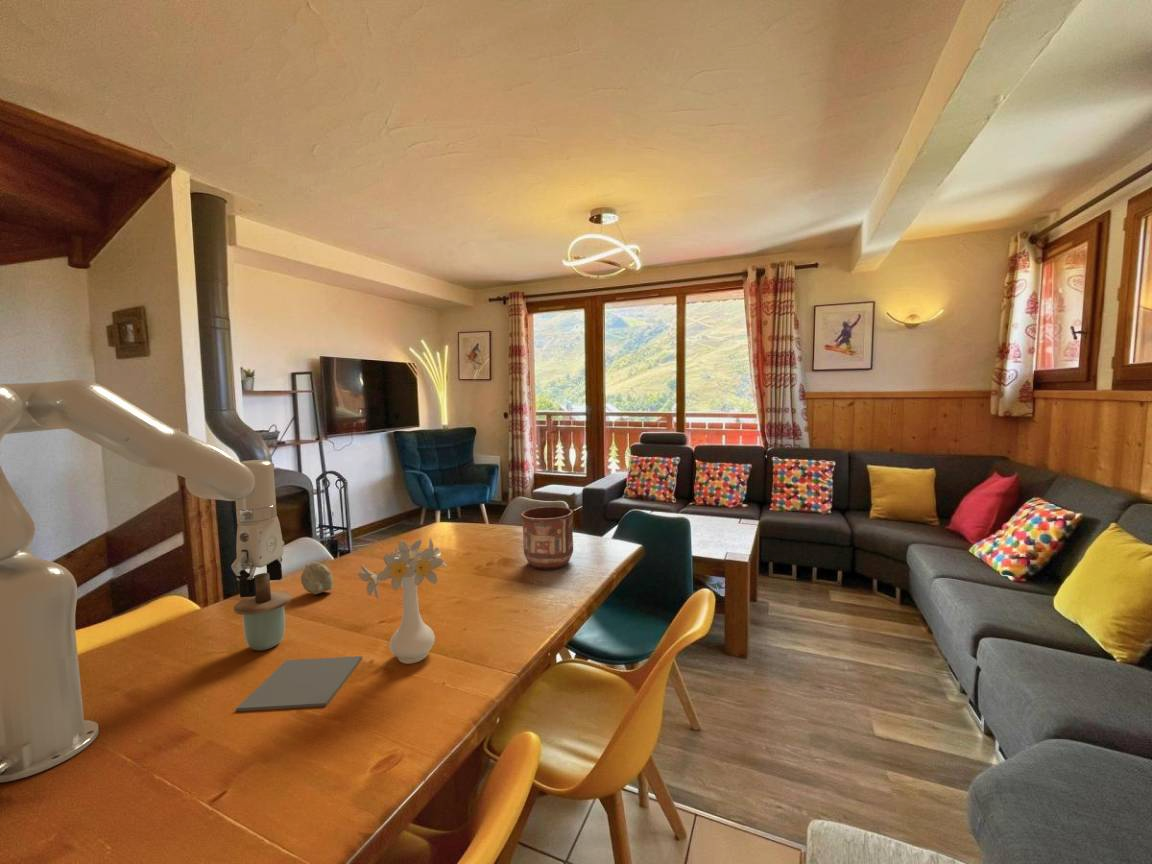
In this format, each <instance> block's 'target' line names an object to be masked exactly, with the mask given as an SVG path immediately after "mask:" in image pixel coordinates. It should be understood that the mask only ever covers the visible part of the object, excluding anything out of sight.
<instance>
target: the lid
mask: <svg viewBox="0 0 1152 864" xmlns="http://www.w3.org/2000/svg"><path fill="white" fill-rule="evenodd" d="M253 578H255V580H256V596H254V597H245V598H244V599H242V600H240V601H238V602H236V603H235V604H234V605H233V611H234V613H235V614H237V615H241V616H243V615H252V614H259V613H264V612H268V611H271V610H274V609H277V608H280V607H282V606H284V607H285V606H286V605H287V604H289V603H290V602H291V600H292V593H290V592H289V591H285V590H284V591H283V590H281V591H280V590H277V591H274V590H273V591H271V580H270V576H269V573H267V572H262V573H257V574H254V576H253Z"/></svg>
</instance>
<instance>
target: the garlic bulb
mask: <svg viewBox="0 0 1152 864" xmlns="http://www.w3.org/2000/svg"><path fill="white" fill-rule="evenodd" d="M300 583H301V585H302V586H303V587H302V588H303V589H304V590H305V591H306V592H308V593H311V594H313V595H317V594H322V593H323V592H326V591H330V590H333V589H334V588H335V587H334V586H333V584H334V578H333V572H332V571H331V569H330V568H329V567H328V566H326V565H324V564H322V563H321V562H315V561H312V562H311V563H308V564H305V568H304V570H303V571H302V572H301V576H300Z"/></svg>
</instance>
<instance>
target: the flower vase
mask: <svg viewBox="0 0 1152 864" xmlns="http://www.w3.org/2000/svg"><path fill="white" fill-rule="evenodd" d="M428 539H429V543H428V544H429V547H428V548H425V549H424V550H423V551H420V550H419V549H420V546H421V545H422V540H419V539H418V540H416V541H414V542H413V544H412V543H411V546H409V544H408V543H407V542H406V541H404V540H400V541H399V542H398V543H397V546H396V548H395V551H391V554H388V553H387V554H384V555H383V563H384V564H385V567H384V569H383V570H382V571H380V572H379V573H378V574H377V573H374V572H372V571H371V570H369V569H367V568H366V566H364V565H363V564H361V565H360V568H361V570H362V571H363V572H358V573H357V574H358V575H357V576H358V577H359V578H360V579H361V580H362V581H364V582H368V583H367V584H366V593H367V595H368V596H371V595H372V594H373V592H374V596H375V597H376V599H377V600H379V598H380V597H379V585H380V584H379V583H380V582H381V581H387V580H390V579H391V582H390V584H391V588H392V590H393V591H397V590H399V588H400V587H401V588H402V616H401V617H402V618H401V622H400V624H399V627H398V628H397V630H396V631H395V632H394V633H393V635H392V637H391V638H390V641H389V651H390V653H391V654H392V655H393V656H394V657H396V658H397V660H398V661H399V662H400V663H401V664H404V665H405V664H407V665H408V664H409V665H410V664H416V663H419V662H421V661H424V660H425V659H426V657H427V656H428V654H429V651H430V650H431V649H432V648H433V646H434V644H435V641H436V637H435V633H434V631H433V630H432V628H431V627H430V626H429V625H428V624H426V623H425V622H424V620H423V619H422V617H421V613H420V610H419V609H420V608H419V598H418V586H419V585H421V584H422V583H423V581H424V579H425V580H427V581H428V582H430V583H431V584H436V583H438V577H437V574H436V573H435V571H433V570H436V569H438V568H439V567H441V566H445V567H448V565H447V564H446V561H444V560H443V559H442V558H441V554H442V551H441V550H440V548H438V547H434V543H433V541H432V538H431V537H429V538H428ZM398 550H399V551H398ZM408 565H409V566H408Z"/></svg>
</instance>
